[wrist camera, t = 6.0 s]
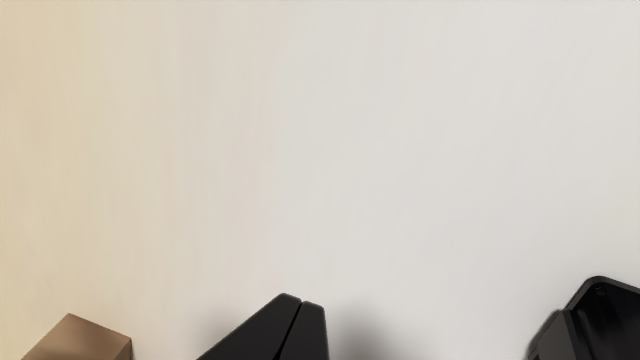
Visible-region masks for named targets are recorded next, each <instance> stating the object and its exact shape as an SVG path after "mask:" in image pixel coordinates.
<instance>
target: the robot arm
mask: <svg viewBox="0 0 640 360" xmlns="http://www.w3.org/2000/svg"><path fill="white" fill-rule="evenodd" d="M600 286H604V288H602V289H596V288H597V287H600ZM196 360H330V358H329V349H328V339H327V330H326V320H325V311H324V308H323V307H322V306H320V305H317V304H314V303H311V302H308V301H304V302H302V301H301V299H300V298H297V297H294V296H292V295H289V294H286V293H281V294H279V295H278V296H277V297H275V298H274V299H273V300H272V301H270V302H269V303H268V304H266V305H265V306H264V307H263V308H261V309H260V310H259V311H258V312H256V313H255V314H254V315H252V316H251V317H250V318H249V319H247V320H246V321H245V322H244V323H242V324H241V325H240V326H238V327H237V328H236V329H235V330H233V331H232V332H231V333H230V334H228V335H227V336H226V337H224V338H223V339H222V340H221V341H219V342H218V343H217V344H216V345H214V346H213V347H212V348H210V349H209V350H208V351H207V352H205V353H204V354H203V355H202V356H200V357H199V358H198V359H196ZM528 360H640V289H639V288H636V287H634V286H631V285H628V284H625V283H622V282H619V281H616V280H613V279H610V278H607V277H604V276H595V277H592V278H590V279H589V280H588V281H587V282H586V283H585V285H584V286H583V287H582V289H581V290H580V291H579V292H578V294H577V295H576V296H575V298H574V299H573V300H572V302H571V303H570V304H569V305H568V307H567V308H566V309H564V310H562V311H561V312H560V313H559V314H558V316H557V317H556V318H555V320H554V321H553V322H552V324H551V325H550V326H549V328H548V329H547V330H546V331H545V333H544V334H543V335H542V337H541V338H540V339H539V341H538V342H537V347H536V348H535V350H534V351H533V352H532V354H531V355H530V356H529V358H528Z"/></svg>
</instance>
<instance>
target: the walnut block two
mask: <svg viewBox="0 0 640 360" xmlns="http://www.w3.org/2000/svg"><path fill="white" fill-rule="evenodd" d="M21 360H131V338H130V337H127V336H125V335H122V334H120V333H118V332H115V331H113V330H110V329H108V328H105V327H103V326H100V325H98V324H95V323H93V322H90V321H88V320H85V319H83V318H80V317H78V316H75V315H73V314H70V313H68V314H67V315H66V316H65V317H64V318H63V319H62V320H61V321H60V322H59V323H58V324H57V325H56V326H55V327H54V328H53V329H52V330H51V331H50V332H49V333H48V334H47V335H46V336H45V337H44V338H42V339H41V340H40V341H39V342H38V343H37V344H36V345H35V346H34V347H33V348H32V349H31V350H30V351H29V352H28V353H27V354H26V355H25V356H24V357H23V358H22V359H21Z"/></svg>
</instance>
